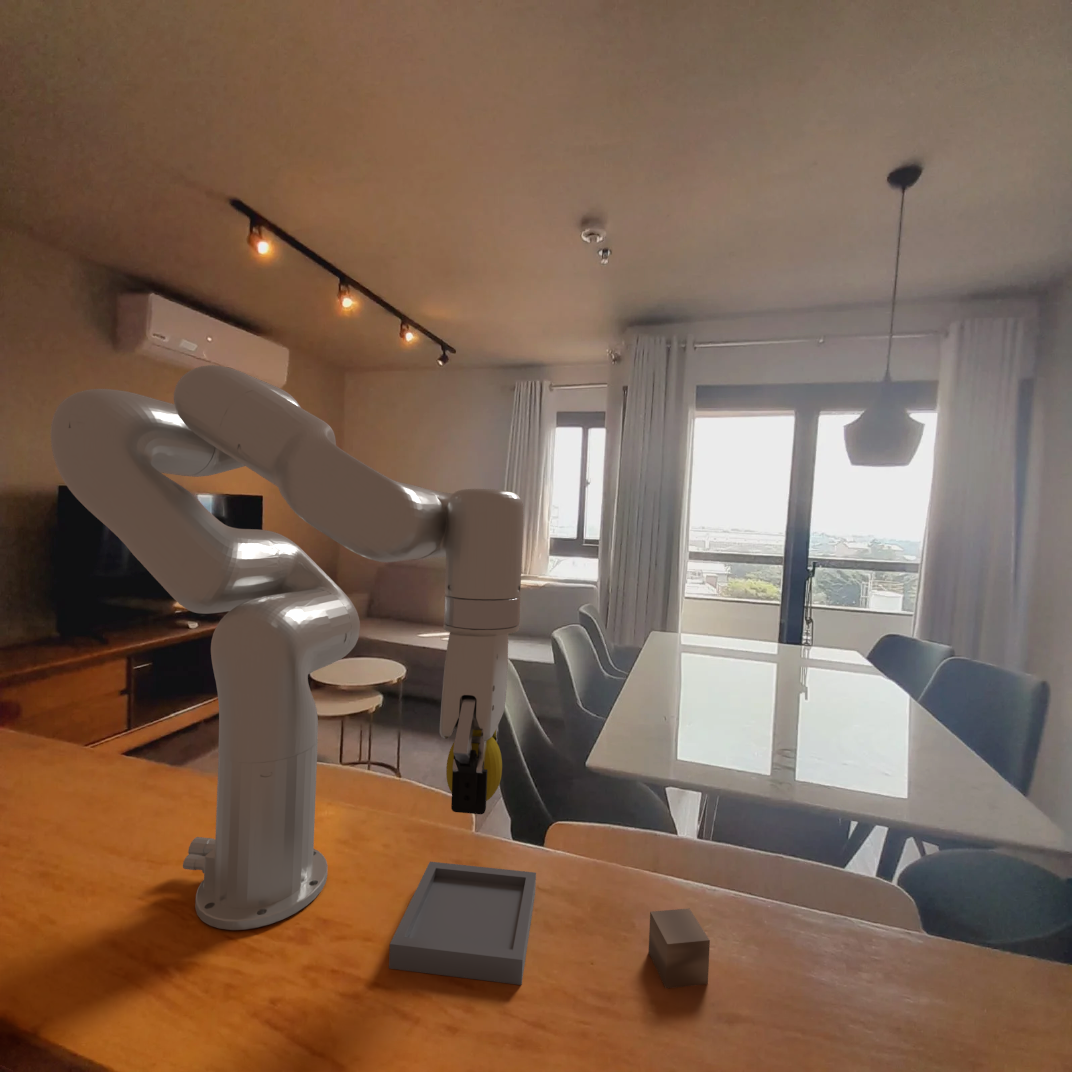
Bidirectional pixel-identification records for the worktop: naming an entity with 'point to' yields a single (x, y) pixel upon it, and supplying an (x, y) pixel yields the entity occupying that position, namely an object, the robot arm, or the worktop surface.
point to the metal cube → (678, 948)
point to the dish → (467, 923)
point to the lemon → (491, 764)
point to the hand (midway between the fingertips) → (475, 793)
